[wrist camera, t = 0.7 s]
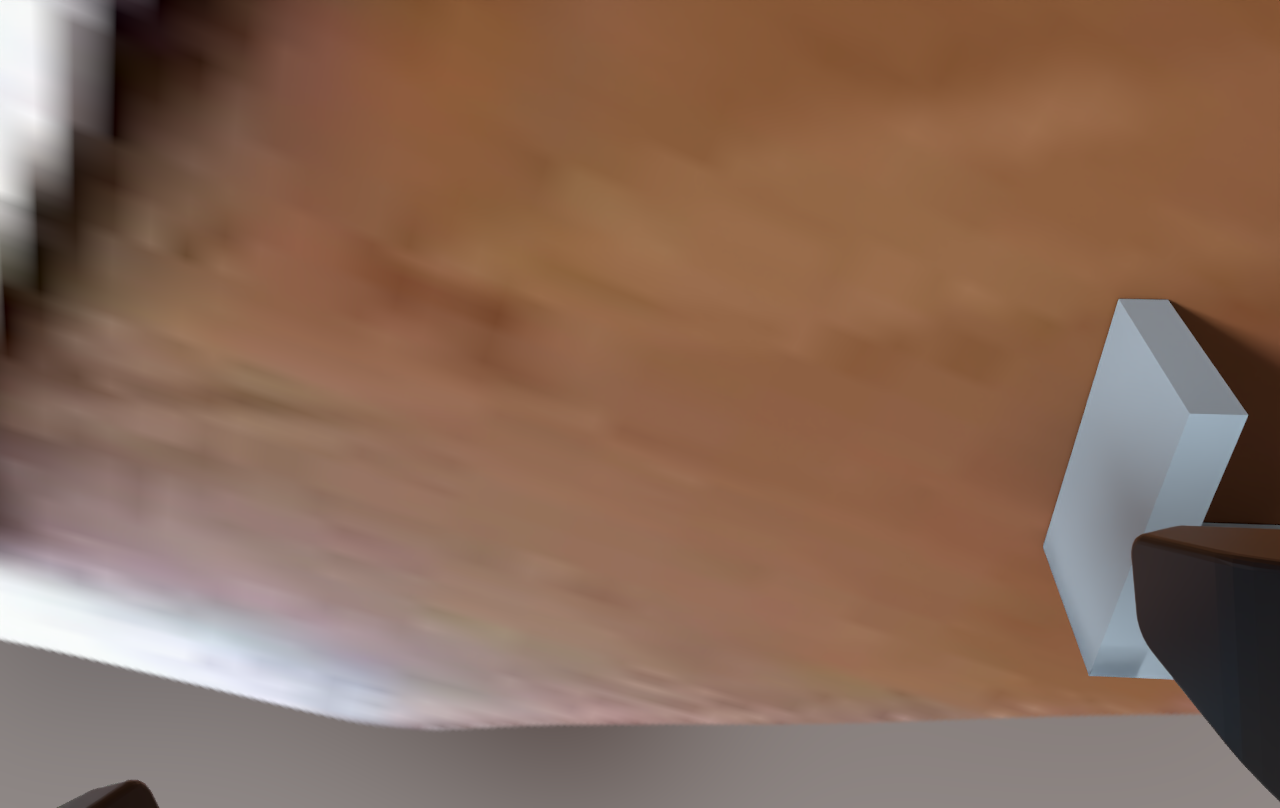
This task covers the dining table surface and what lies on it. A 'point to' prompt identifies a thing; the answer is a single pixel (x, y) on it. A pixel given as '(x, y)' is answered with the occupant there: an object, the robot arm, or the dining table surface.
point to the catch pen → (1137, 476)
